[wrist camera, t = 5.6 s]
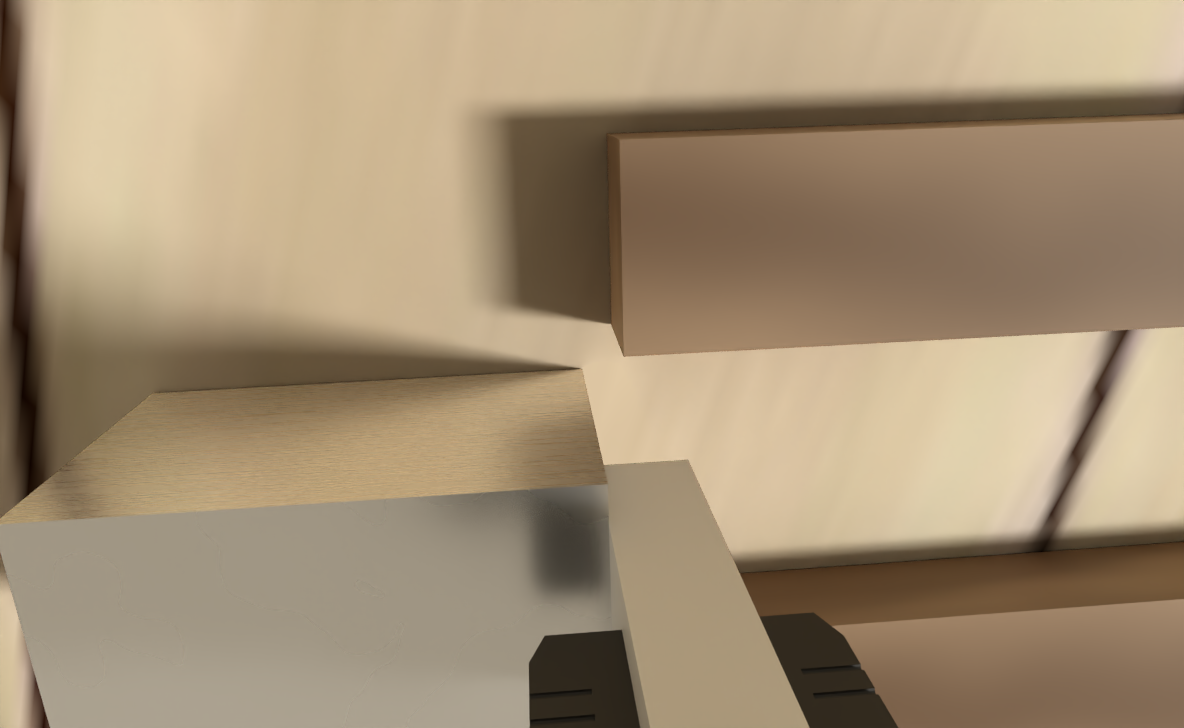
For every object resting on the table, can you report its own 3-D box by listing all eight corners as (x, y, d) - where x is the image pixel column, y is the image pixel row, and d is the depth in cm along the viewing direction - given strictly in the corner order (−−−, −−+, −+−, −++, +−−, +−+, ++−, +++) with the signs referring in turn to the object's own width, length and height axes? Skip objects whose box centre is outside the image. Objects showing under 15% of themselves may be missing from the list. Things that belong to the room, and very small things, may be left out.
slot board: (607, 133, 15) (619, 139, 13) (1545, 100, 16) (1682, 102, 14) (620, 719, 19) (631, 789, 17) (1374, 656, 20) (1463, 715, 18)
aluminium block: (152, 393, 16) (-8, 525, 11) (582, 369, 16) (608, 484, 11) (195, 598, 17) (68, 794, 12) (589, 569, 18) (615, 746, 13)
